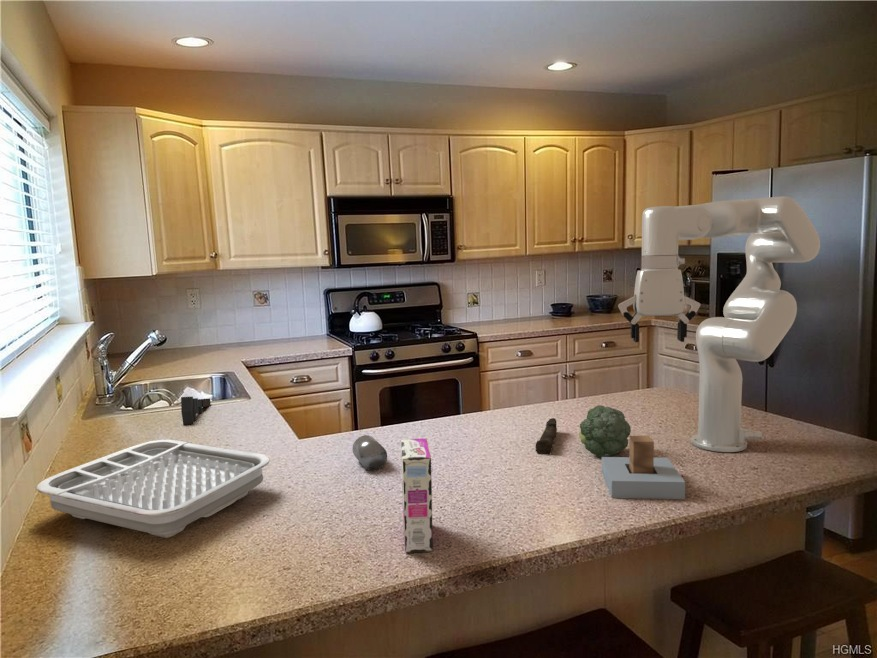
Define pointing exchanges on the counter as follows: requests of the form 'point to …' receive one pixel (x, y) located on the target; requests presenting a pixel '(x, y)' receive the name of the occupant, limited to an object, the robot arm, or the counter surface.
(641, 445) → the square bit
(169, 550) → the counter surface
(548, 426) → the charcoal colored rounded log
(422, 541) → the candy bar box
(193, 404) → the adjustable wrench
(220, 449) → the dish rack
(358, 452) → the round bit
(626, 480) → the socket block
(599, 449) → the vegetable
